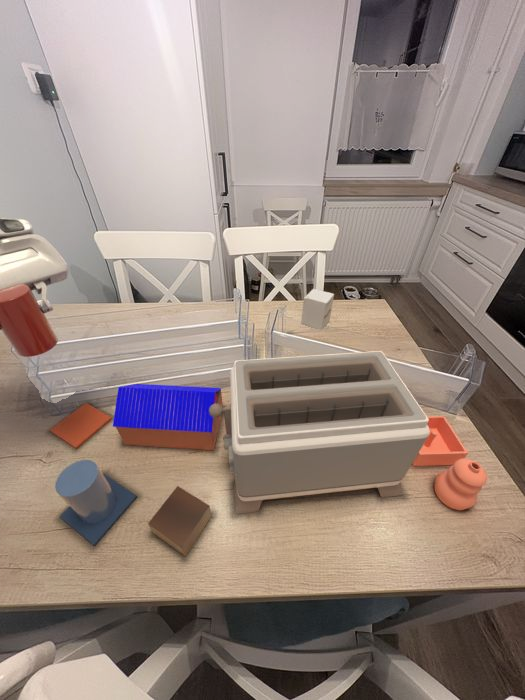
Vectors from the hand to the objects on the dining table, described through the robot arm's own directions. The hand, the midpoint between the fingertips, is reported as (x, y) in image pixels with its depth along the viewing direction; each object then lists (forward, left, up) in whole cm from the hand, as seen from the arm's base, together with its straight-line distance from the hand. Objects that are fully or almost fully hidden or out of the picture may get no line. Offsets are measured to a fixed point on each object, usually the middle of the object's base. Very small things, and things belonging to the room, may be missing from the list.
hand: (23, 320), depth 46 cm
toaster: (+17, -43, -30) cm, 55 cm away
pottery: (+29, -68, -30) cm, 79 cm away
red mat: (0, +4, -30) cm, 30 cm away
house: (+11, -15, -30) cm, 35 cm away
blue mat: (-10, -15, -30) cm, 35 cm away
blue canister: (-10, -15, -29) cm, 34 cm away
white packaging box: (+62, -29, -30) cm, 75 cm away
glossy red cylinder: (0, +1, -5) cm, 5 cm away
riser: (-5, -30, -30) cm, 43 cm away
